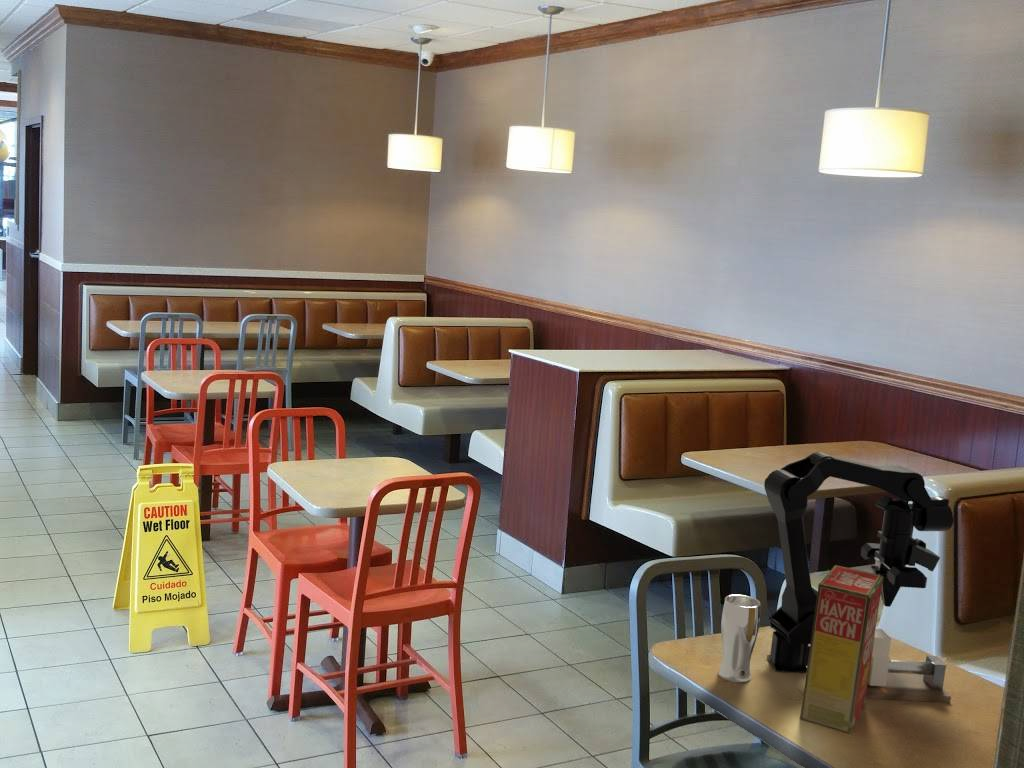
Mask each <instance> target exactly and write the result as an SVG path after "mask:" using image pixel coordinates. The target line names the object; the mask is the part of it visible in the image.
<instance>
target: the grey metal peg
mask: <svg viewBox="0 0 1024 768" xmlns="http://www.w3.org/2000/svg"><path fill="white" fill-rule="evenodd" d="M946 667H947V664H946V663H944V661H943V660H942V659H941V658H940V657H938V656H937V655H926V657H925V661H919V660H904V659H903V660H902V659H900V660H899V659H890V660H889V667H888V673H902V674H920V675H924V677H923V681H924V682H925V683H926V684H927V685H928V686H929V687H930V688H931V689H932V690H943V689H944V682H945V675H946Z"/></svg>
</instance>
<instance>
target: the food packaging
mask: <svg viewBox="0 0 1024 768" xmlns="http://www.w3.org/2000/svg"><path fill="white" fill-rule="evenodd" d="M827 573H828V574H826V576H824V578H822V580H821V582H819V583H818V586H817V587H818V588H817V591H818V594H817V601H816V608H815V615H814V623H813V630H812V637H811V644H809V646H810V650H809V657H808V665H807V666H806V667H807V673H805V674H806V675H805V680H804V681H805V682H804V689H803V694H802V695H803V696H802V703H801V708H800V716H799V719H800V720H803V721H807V722H810V723H814V724H816V725H820V726H824V727H826V728H830V729H834V730H837V731H840V732H845V733H848V734H850V735H851V734H852V732H853V730H854V729H855V727H856V725H857V723H858V722H859V720H860V717H861V716H862V713H863V711H864V710H865V707H866V699H867V698H866V693H867V686H868V678H869V671H870V664H871V657H872V650H873V643H874V636H875V629H877V623H878V620H877V619H878V614H879V607H880V602H881V601H880V599H881V588H882V581H883V578H884V577H883V576H881V575H877V574H873V572H868V571H862V570H858V569H855V568H850V567H846V566H841V565H836V564H835V565H834V566H832V567H831V570H829V572H827Z"/></svg>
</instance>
